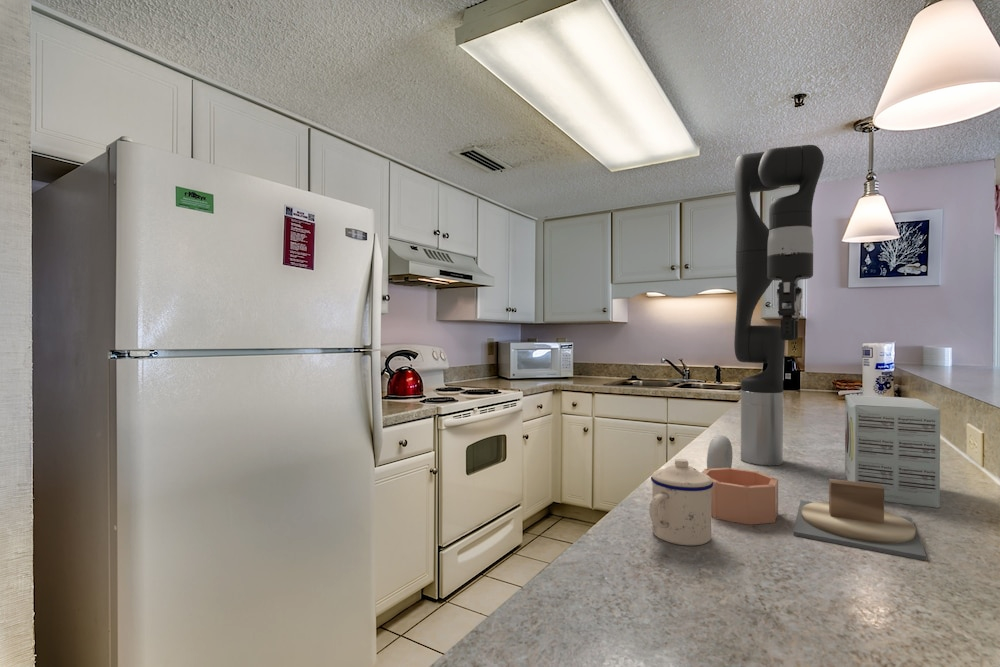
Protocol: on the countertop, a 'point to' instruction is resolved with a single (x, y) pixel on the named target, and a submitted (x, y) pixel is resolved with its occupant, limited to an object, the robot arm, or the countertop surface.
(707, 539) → the teacup with lid
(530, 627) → the countertop surface
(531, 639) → the countertop surface
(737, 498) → the bowl
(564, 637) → the countertop surface
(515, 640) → the countertop surface
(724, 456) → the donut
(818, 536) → the mat
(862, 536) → the lid
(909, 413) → the supplement box
